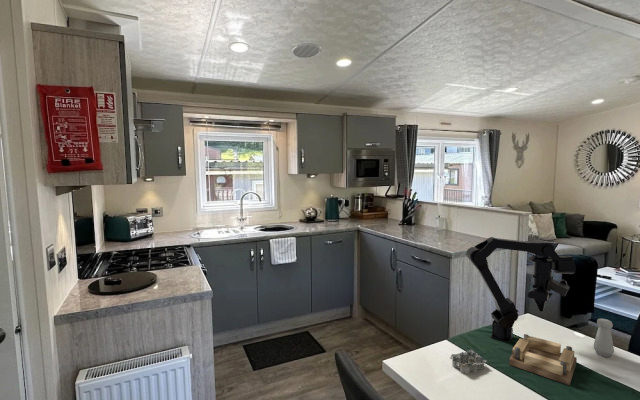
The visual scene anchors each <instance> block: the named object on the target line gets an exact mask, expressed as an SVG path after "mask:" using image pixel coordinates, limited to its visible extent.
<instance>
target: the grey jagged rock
mask: <svg viewBox="0 0 640 400" xmlns="http://www.w3.org/2000/svg"><path fill="white" fill-rule="evenodd" d="M449 359H450V360H452V361H451V362H452V363H451V364H452V368H455V369H458V370H459V372H460V373H461V374H467V375H469V374H470V373H471V372H477V371H478V369H480V370H484V369H485V367H484V366H485V364H486V363H487V362H488V360H486V359H484V357H483V356H481V355H480V354H478V353H477V352H475V351H474V350H473V349H469V350H467V351H462V352H459V353H452V354H451V355H450V357H449ZM461 362H463V363H461Z"/></svg>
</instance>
